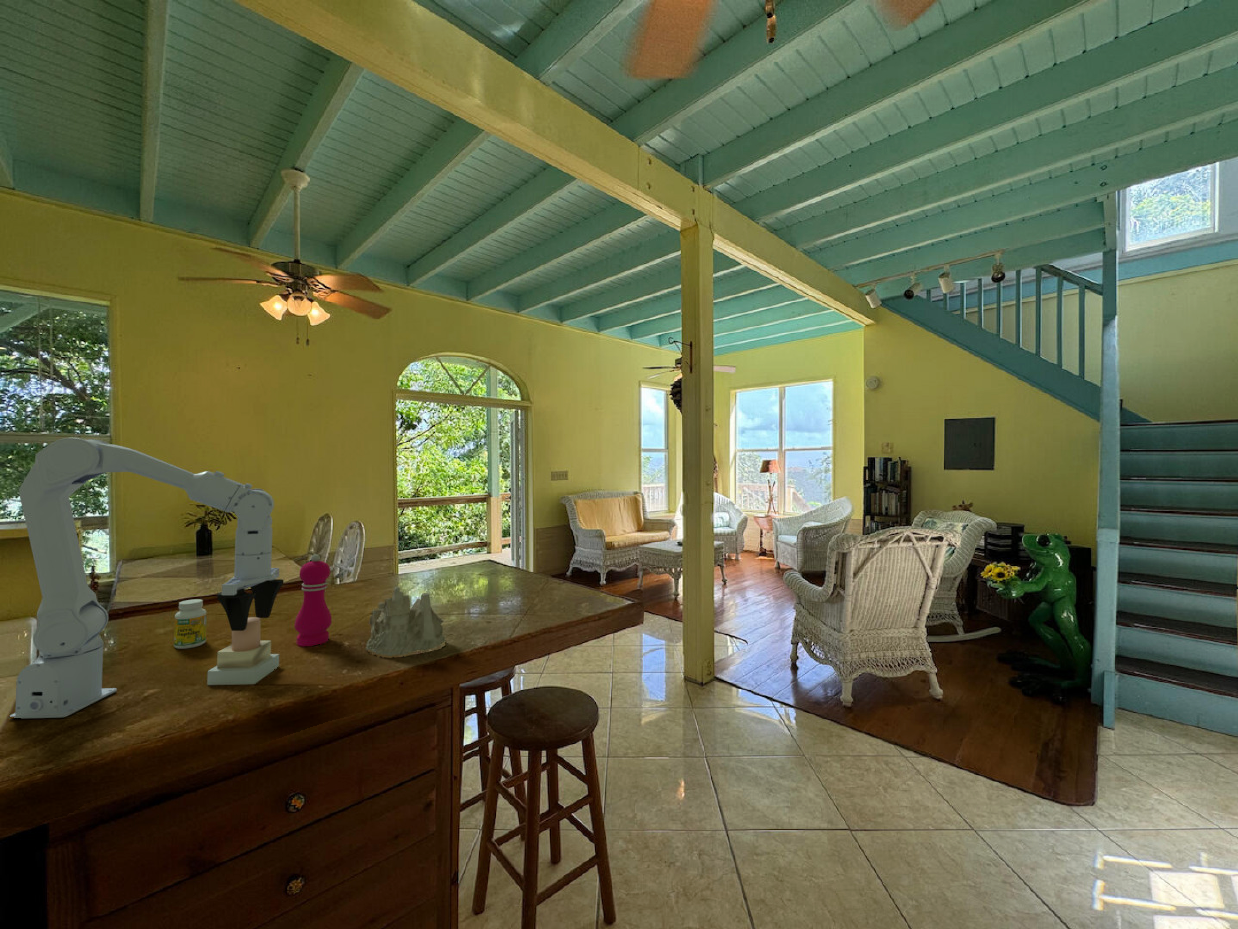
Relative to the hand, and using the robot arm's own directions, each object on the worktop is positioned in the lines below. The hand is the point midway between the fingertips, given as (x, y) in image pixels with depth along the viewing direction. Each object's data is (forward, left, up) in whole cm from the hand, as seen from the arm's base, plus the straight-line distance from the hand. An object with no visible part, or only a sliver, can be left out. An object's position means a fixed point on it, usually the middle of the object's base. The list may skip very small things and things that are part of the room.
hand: (251, 623), depth 96 cm
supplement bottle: (+17, +22, -10) cm, 30 cm away
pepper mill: (+18, -3, -10) cm, 21 cm away
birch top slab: (0, +1, -7) cm, 7 cm away
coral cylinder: (0, +1, -4) cm, 4 cm away
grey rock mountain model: (+16, -24, -10) cm, 30 cm away
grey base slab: (0, +1, -10) cm, 10 cm away
